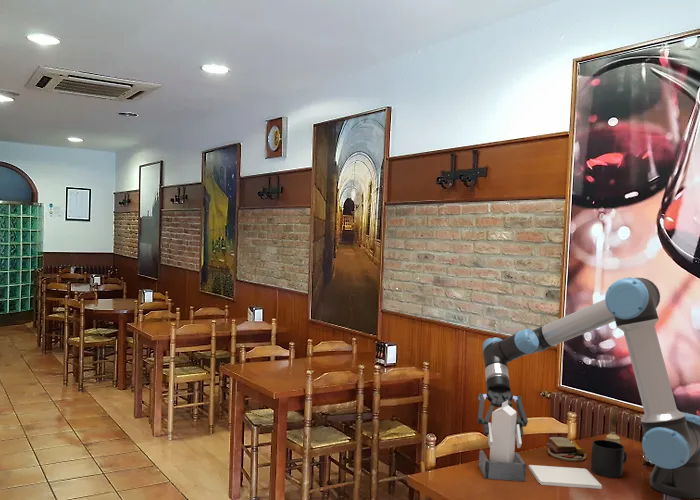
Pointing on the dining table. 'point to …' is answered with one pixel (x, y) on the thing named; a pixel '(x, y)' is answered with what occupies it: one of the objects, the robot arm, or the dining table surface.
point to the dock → (502, 468)
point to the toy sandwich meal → (565, 449)
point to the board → (564, 476)
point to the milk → (503, 434)
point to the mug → (608, 458)
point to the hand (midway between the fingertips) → (505, 444)
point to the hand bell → (613, 426)
